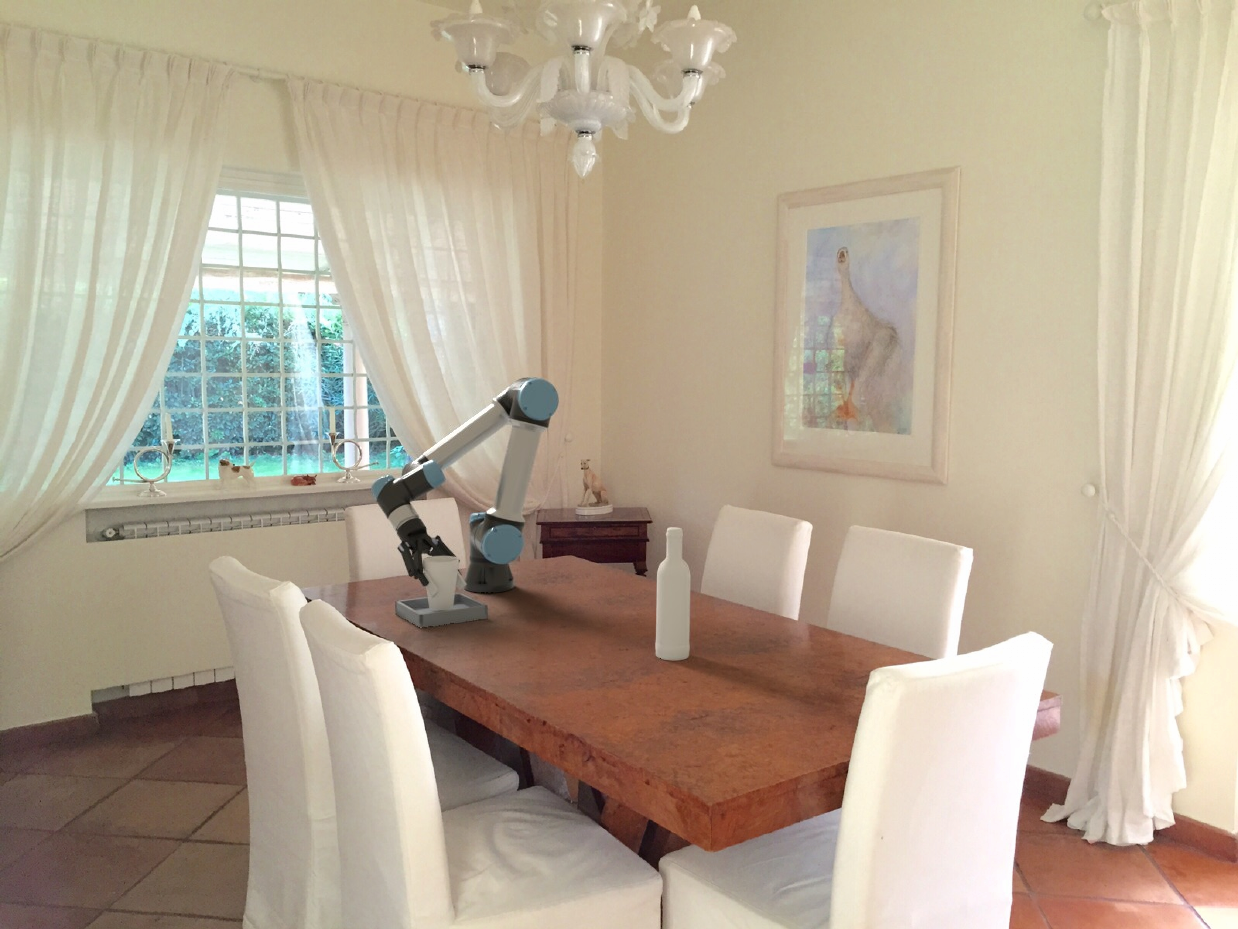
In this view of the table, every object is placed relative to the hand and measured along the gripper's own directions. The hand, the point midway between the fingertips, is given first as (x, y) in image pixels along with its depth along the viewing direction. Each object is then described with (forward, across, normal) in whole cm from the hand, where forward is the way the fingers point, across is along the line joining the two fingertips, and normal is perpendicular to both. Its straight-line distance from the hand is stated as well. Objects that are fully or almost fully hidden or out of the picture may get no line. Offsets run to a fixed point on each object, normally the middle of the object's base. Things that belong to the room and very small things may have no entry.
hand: (449, 590), depth 253 cm
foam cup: (+1, 0, -6) cm, 6 cm away
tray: (+3, 0, -7) cm, 8 cm away
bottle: (+51, -8, +40) cm, 66 cm away
